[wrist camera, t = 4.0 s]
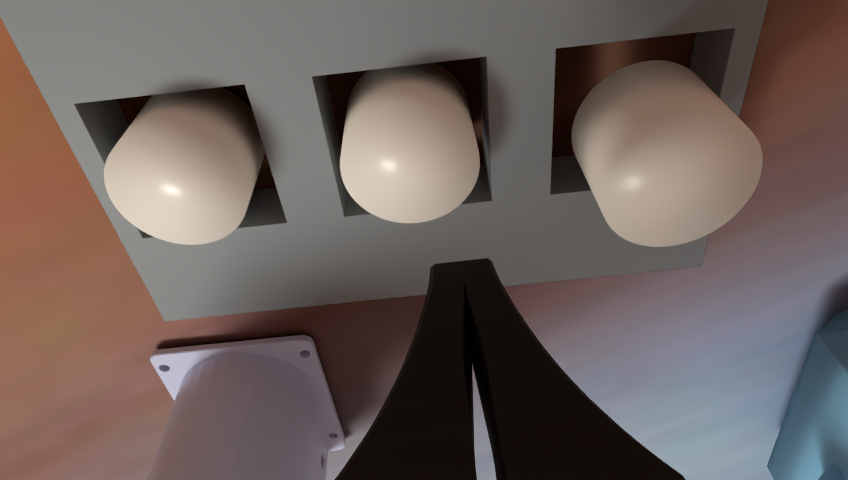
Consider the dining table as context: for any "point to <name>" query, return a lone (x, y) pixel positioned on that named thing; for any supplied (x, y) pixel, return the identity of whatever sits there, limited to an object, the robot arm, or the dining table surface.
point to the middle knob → (409, 143)
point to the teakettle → (817, 412)
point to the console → (320, 145)
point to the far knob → (186, 166)
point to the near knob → (664, 154)
